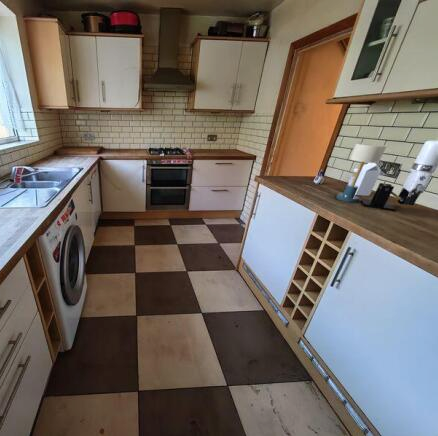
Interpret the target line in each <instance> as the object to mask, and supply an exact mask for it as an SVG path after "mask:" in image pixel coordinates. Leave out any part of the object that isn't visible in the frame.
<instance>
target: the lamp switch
mask: <svg viewBox="0 0 438 436" xmlns="http://www.w3.org/2000/svg"><path fill="white" fill-rule="evenodd" d="M385 184H386V183H384V185H385ZM380 188H381V187H380ZM390 195H392V196H394V197H395V198H396V199H397V203H398V204H400V205H405V204H404V203H405V201H406V199H407V198H405V197H402V198H401V197H399V194H397V193H395V192H393V191H392V192H391V194H390Z"/></svg>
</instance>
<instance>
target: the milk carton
mask: <svg viewBox="0 0 438 436" xmlns="http://www.w3.org/2000/svg"><path fill="white" fill-rule="evenodd" d="M380 175H381V170H380V168H379V166H378V164H377V163H369V162H367V163H366V164H364V165H363V167H362V170H361V172H360V174H359V176H358V179H357V181H356V183H355V185H356V186H358V189H357V191H356V193H355V196H364V197H370V195H371V193H372V191H373V189H374V187H375V185H376V183H377V181H378V179H379V177H380Z"/></svg>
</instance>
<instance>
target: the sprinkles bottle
mask: <svg viewBox="0 0 438 436" xmlns="http://www.w3.org/2000/svg"><path fill="white" fill-rule="evenodd" d="M358 168H359V167H358ZM358 168H357V167H356V168H355V167H354V169H353V172H352V175H351V176H350V179H349V181H348V184H347V185H352V182H353V180H354V178H355V175H356V173H357V171H358Z"/></svg>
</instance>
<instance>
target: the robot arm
mask: <svg viewBox="0 0 438 436" xmlns="http://www.w3.org/2000/svg"><path fill="white" fill-rule="evenodd" d="M416 156H417V157H416V158H415V160H414V162H413V164H412V166H411V168H410V171H411V172H410V173H409V174H408V176H407V178H406V179H405V182H404V184H403V185H402V187H403V188H401V191H399V193H398V196H399V197H401V198H402V197H405V198H407V199H406V201H405V203H404V204H403V205H406V206H415V203H416V201H417V200H418V199H419V197H420V196H421V194H424V192H425V190H426V189H427V187H428V184H429V182H430V181H431V178H432V175H433V174H434V173H435V171H436V170H437V168H438V140H437V139H432V140H431V139H430V140H427V141H425V142H424V143H423V145H422V147H421V149H420V150H419V153H418V154H417V155H416Z"/></svg>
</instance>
